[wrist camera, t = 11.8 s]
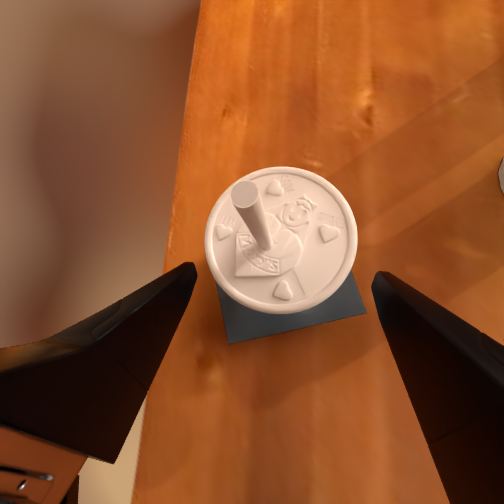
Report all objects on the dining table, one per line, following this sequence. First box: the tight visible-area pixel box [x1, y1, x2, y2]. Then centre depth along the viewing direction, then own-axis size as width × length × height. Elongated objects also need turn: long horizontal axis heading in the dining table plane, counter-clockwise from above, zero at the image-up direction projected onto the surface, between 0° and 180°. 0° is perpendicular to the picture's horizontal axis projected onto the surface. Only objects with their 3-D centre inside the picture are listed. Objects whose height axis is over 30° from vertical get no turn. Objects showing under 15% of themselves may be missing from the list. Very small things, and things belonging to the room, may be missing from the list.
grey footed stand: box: [215, 270, 367, 345], centre depth 19 cm, size 10×12×4 cm
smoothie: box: [204, 167, 358, 314], centre depth 10 cm, size 6×6×14 cm
